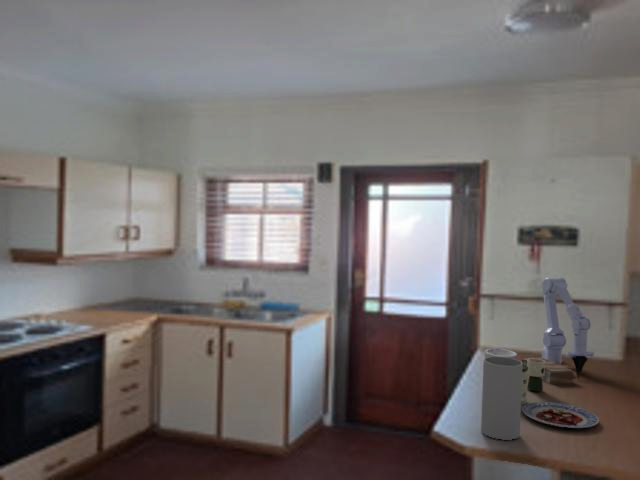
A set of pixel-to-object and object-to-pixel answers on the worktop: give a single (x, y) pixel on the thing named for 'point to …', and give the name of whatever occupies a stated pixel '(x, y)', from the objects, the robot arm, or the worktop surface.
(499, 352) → the paper bowls
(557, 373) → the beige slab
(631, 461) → the worktop surface
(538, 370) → the character mug
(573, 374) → the sunglasses case
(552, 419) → the ceramic plate
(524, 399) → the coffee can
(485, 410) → the cylinder vase
